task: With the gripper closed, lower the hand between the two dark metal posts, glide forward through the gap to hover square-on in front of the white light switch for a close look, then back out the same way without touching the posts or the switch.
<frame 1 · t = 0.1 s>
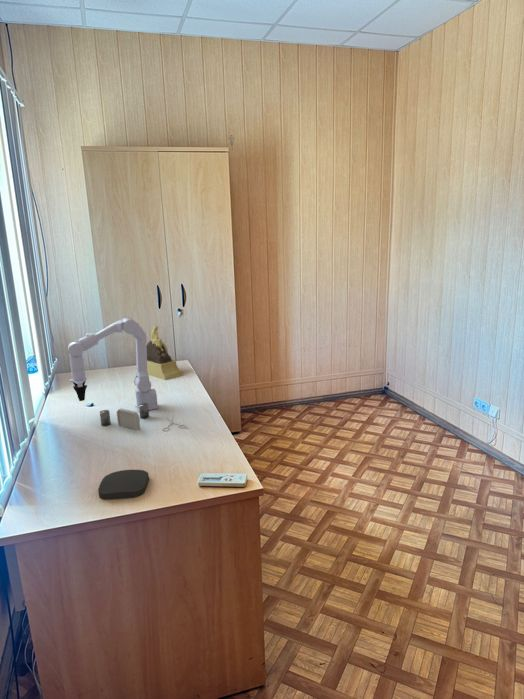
hand: (81, 398, 212), 10 cm above the table, tool pointing down, fingers open, 7 cm apart
media streaming box: (124, 488, 153), on the table
light switch: (129, 428, 203), on the table
scissors: (172, 424, 206), on the table
post 1: (105, 424, 207), on the table
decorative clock: (160, 373, 284), on the table
post 2: (144, 417, 214), on the table
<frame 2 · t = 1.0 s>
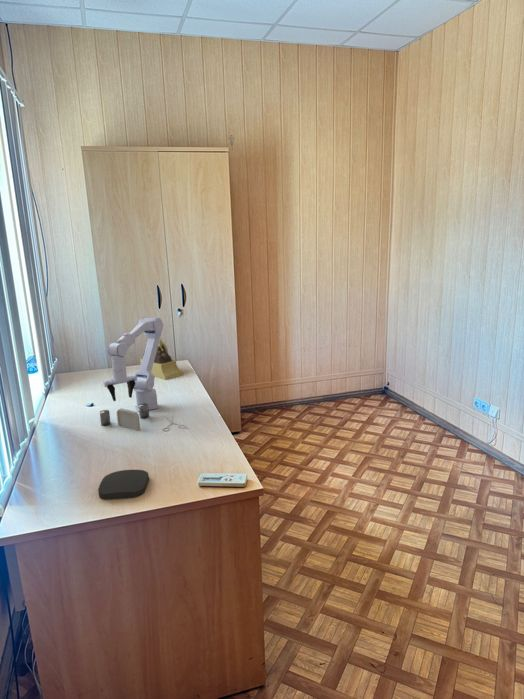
hand: (122, 398, 211), 9 cm above the table, tool pointing down, fingers open, 7 cm apart
nothing on the table moved.
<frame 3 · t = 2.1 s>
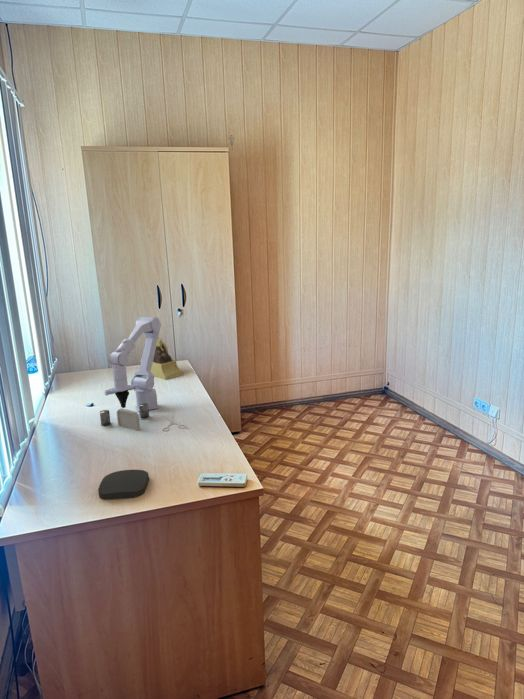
hand: (123, 407, 212), 5 cm above the table, tool pointing down, fingers closed
nothing on the table moved.
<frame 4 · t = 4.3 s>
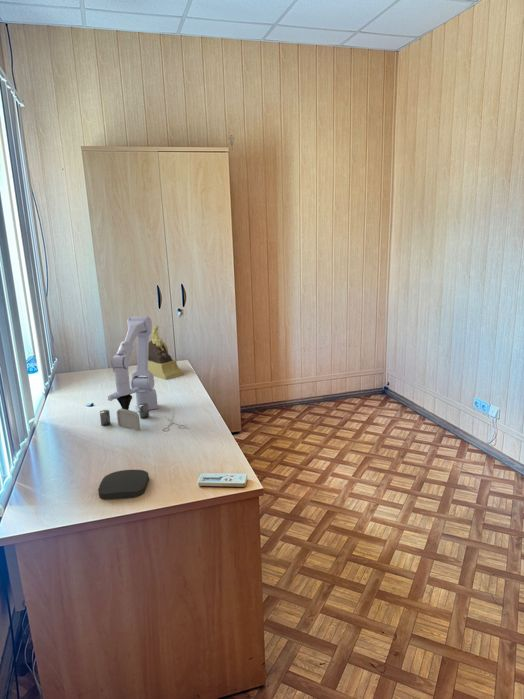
hand: (125, 411, 206), 5 cm above the table, tool pointing down, fingers closed
nothing on the table moved.
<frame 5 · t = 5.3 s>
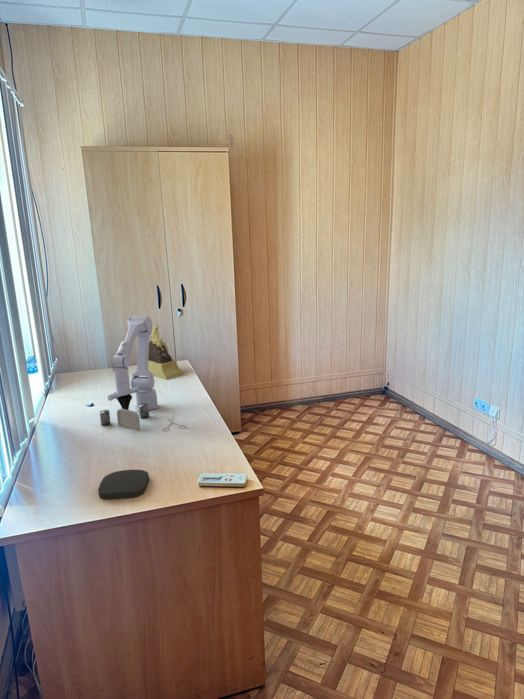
hand: (125, 411, 206), 5 cm above the table, tool pointing down, fingers closed
nothing on the table moved.
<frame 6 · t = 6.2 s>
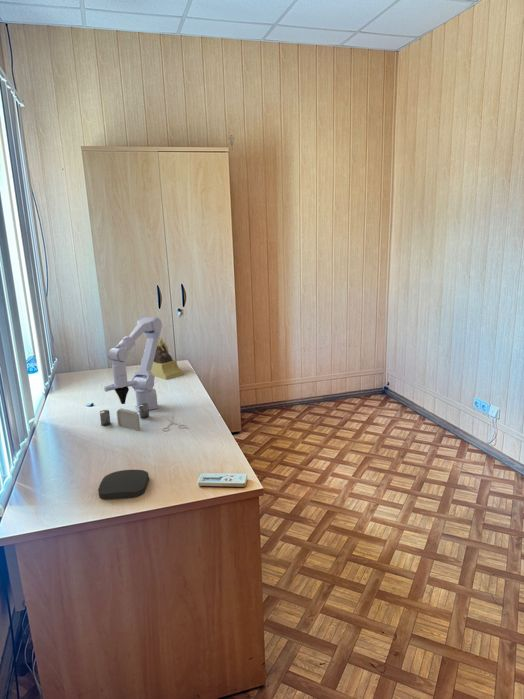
hand: (123, 403, 212), 7 cm above the table, tool pointing down, fingers closed
nothing on the table moved.
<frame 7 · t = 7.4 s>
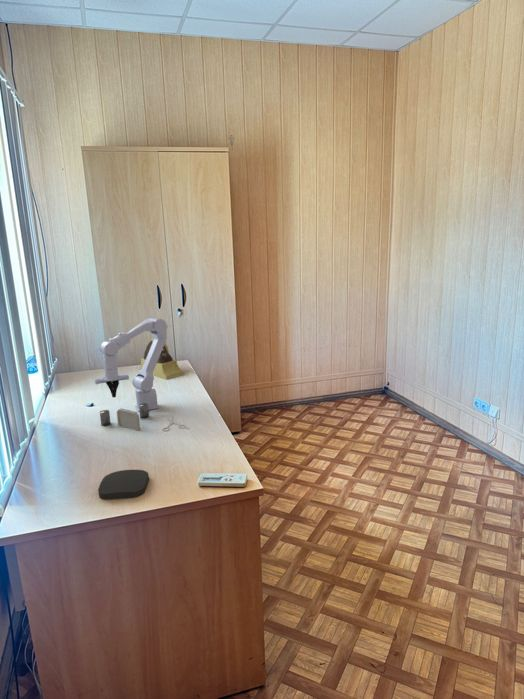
hand: (114, 396, 214), 9 cm above the table, tool pointing down, fingers closed
nothing on the table moved.
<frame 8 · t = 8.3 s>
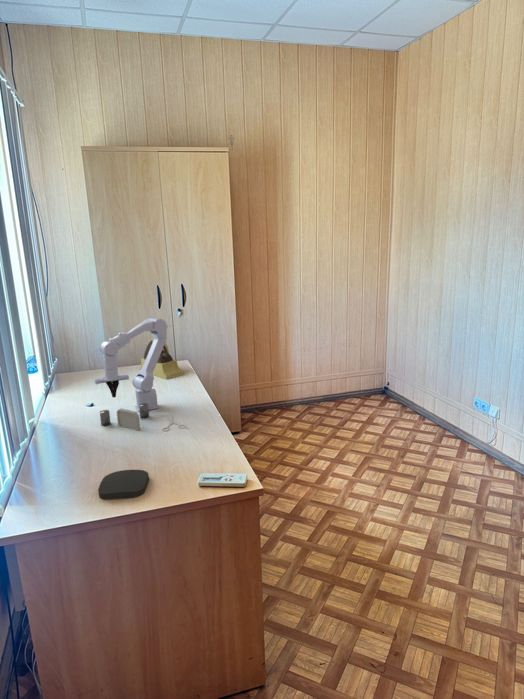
hand: (114, 396, 214), 9 cm above the table, tool pointing down, fingers closed
nothing on the table moved.
at the end: light switch moved 0.3 cm from its start; post 2 moved 0.0 cm from its start; post 1 moved 0.0 cm from its start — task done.
